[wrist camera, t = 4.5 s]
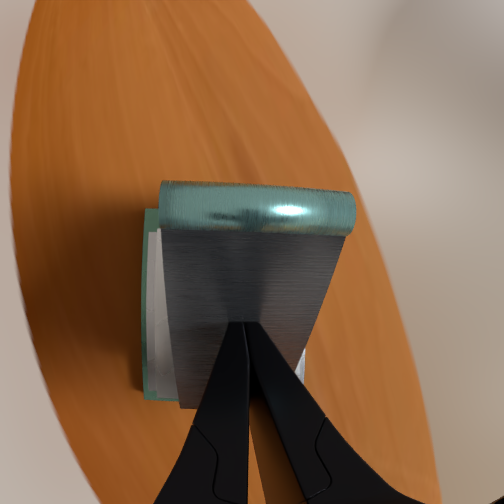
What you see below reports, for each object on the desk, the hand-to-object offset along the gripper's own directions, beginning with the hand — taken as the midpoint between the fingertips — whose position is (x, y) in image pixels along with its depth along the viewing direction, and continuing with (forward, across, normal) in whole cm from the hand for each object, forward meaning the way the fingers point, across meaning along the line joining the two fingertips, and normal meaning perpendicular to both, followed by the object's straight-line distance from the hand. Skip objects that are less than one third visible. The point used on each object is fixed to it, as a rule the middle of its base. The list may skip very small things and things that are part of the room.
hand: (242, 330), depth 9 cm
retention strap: (0, 0, +5) cm, 5 cm away
